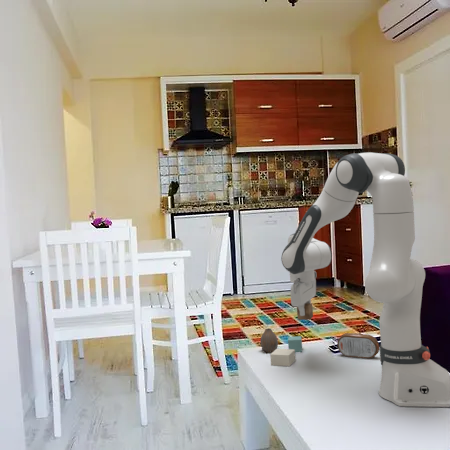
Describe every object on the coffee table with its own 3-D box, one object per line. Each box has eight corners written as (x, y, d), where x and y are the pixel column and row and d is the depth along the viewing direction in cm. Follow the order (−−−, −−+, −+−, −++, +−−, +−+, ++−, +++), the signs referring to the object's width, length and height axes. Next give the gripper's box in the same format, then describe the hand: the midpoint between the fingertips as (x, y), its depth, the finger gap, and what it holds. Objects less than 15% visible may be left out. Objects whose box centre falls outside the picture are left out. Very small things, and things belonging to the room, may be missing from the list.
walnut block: (313, 316, 188) (312, 303, 188) (309, 319, 184) (308, 305, 184) (301, 316, 190) (300, 303, 190) (297, 319, 186) (296, 305, 186)
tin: (380, 357, 182) (378, 334, 182) (378, 360, 179) (376, 336, 179) (340, 354, 190) (338, 331, 190) (337, 356, 188) (335, 334, 187)
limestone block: (295, 360, 187) (294, 349, 187) (289, 366, 181) (288, 355, 181) (277, 359, 190) (276, 348, 190) (271, 365, 184) (270, 354, 184)
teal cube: (302, 348, 201) (301, 336, 201) (302, 352, 196) (300, 339, 196) (289, 349, 202) (288, 336, 202) (289, 353, 197) (287, 340, 197)
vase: (258, 350, 204) (256, 328, 204) (274, 347, 206) (272, 326, 206) (265, 354, 197) (263, 332, 197) (281, 351, 199) (279, 329, 199)
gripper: (302, 281, 176) (305, 320, 176) (317, 271, 194) (320, 307, 195) (284, 281, 178) (288, 320, 179) (301, 272, 197) (304, 307, 197)
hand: (305, 313), depth 187 cm, fingers closed on walnut block, 4 cm apart
